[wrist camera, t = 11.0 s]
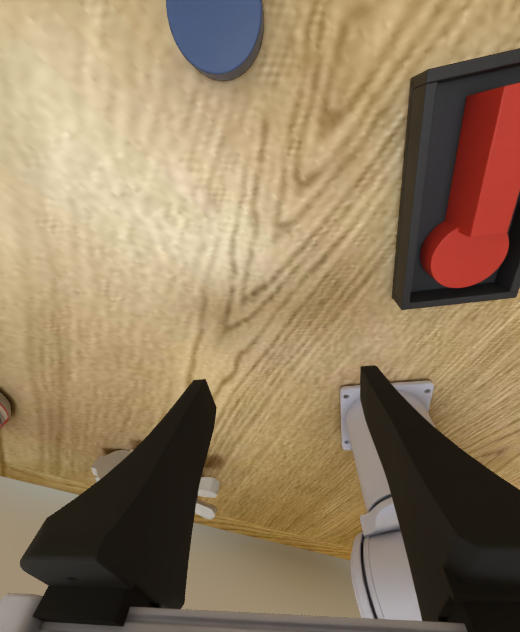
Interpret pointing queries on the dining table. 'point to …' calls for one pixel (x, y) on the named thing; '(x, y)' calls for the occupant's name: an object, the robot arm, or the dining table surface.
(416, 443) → the robot arm
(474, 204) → the red spoon
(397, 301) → the tray
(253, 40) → the blue spoon
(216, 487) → the white faceted figure
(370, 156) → the dining table surface
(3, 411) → the soda can
